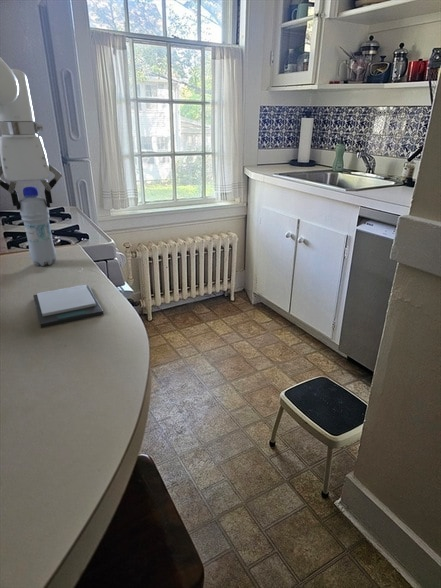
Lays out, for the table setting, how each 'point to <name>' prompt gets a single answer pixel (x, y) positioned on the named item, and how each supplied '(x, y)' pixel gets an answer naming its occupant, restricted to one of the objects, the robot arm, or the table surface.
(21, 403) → the table surface
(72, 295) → the scale
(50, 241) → the bottle
